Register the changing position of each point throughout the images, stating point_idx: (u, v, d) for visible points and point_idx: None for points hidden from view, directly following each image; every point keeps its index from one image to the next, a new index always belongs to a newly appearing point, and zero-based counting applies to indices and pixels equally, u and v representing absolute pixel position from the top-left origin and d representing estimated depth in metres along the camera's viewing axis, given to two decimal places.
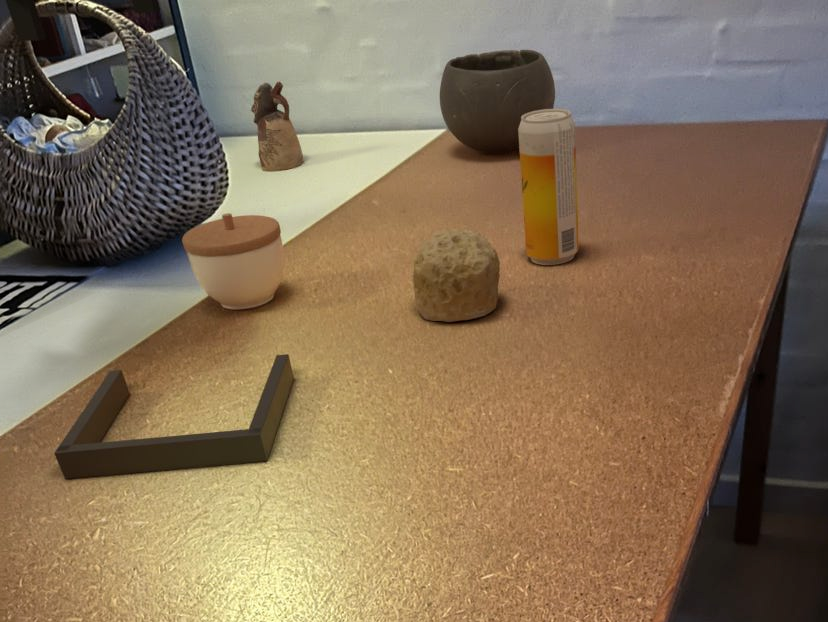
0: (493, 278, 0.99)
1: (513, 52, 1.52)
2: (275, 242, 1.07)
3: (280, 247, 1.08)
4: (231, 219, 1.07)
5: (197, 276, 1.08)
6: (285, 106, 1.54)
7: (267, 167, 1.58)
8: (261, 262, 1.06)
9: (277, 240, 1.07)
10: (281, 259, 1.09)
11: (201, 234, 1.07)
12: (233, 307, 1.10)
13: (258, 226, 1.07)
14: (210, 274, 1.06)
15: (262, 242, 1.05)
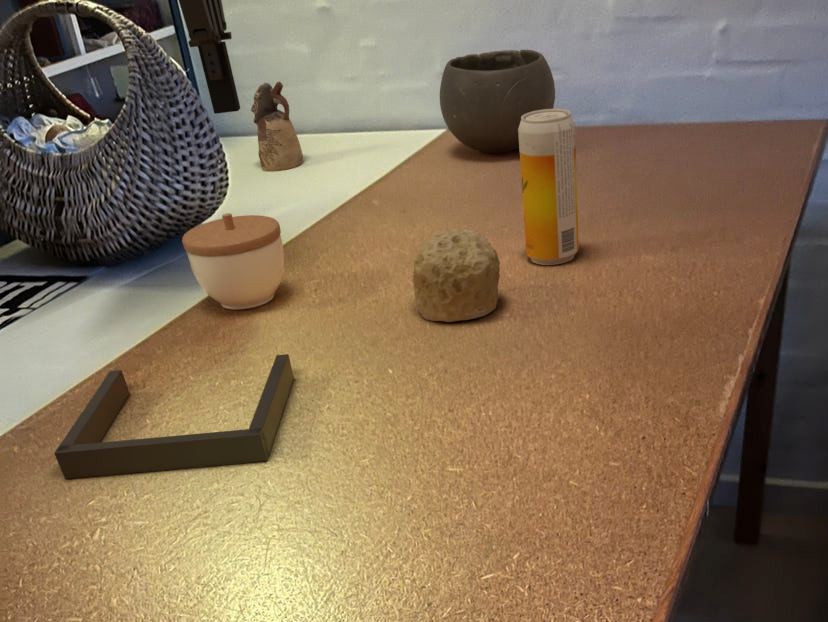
0: (493, 278, 0.99)
1: (513, 52, 1.52)
2: (275, 242, 1.07)
3: (280, 247, 1.08)
4: (231, 219, 1.07)
5: (197, 276, 1.08)
6: (285, 106, 1.54)
7: (267, 167, 1.58)
8: (261, 262, 1.06)
9: (277, 240, 1.07)
10: (281, 259, 1.09)
11: (201, 234, 1.07)
12: (233, 307, 1.10)
13: (258, 226, 1.07)
14: (210, 274, 1.06)
15: (262, 242, 1.05)
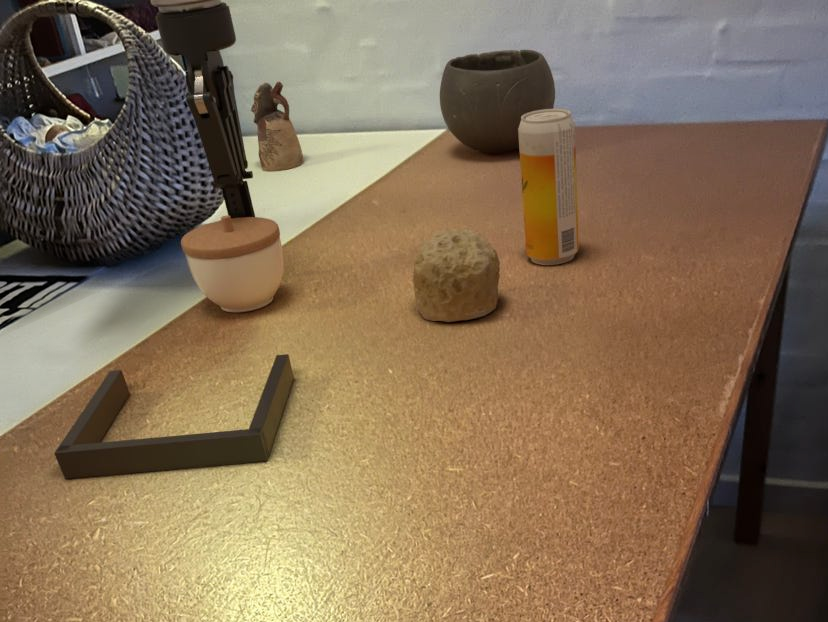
0: (493, 278, 0.99)
1: (513, 52, 1.52)
2: (274, 244, 1.06)
3: (279, 249, 1.07)
4: (230, 221, 1.06)
5: (196, 279, 1.07)
6: (285, 106, 1.54)
7: (267, 167, 1.58)
8: (261, 264, 1.05)
9: (276, 242, 1.06)
10: (280, 262, 1.08)
11: (200, 236, 1.06)
12: (232, 310, 1.09)
13: (257, 229, 1.06)
14: (209, 277, 1.05)
15: (261, 244, 1.04)
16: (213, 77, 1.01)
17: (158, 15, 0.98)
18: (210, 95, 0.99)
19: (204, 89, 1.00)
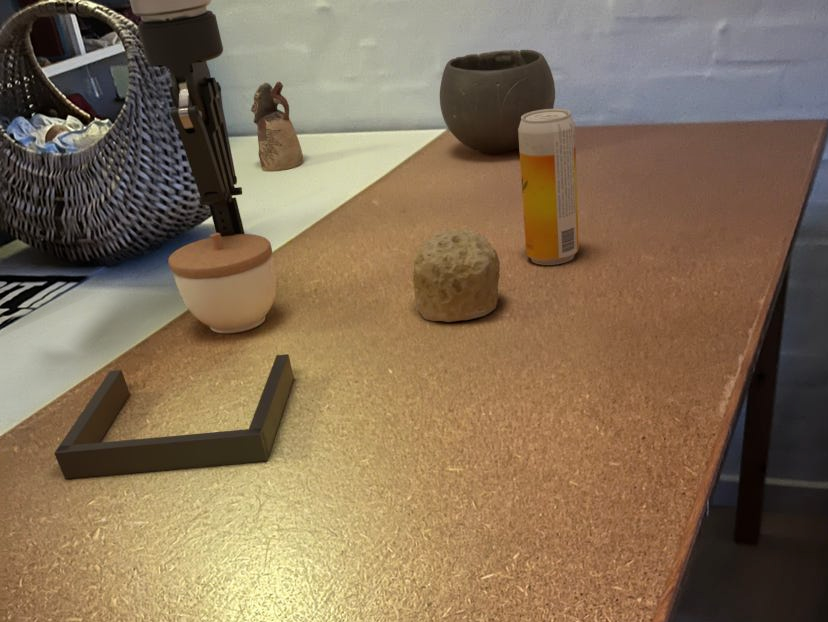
0: (493, 278, 0.99)
1: (513, 52, 1.52)
2: (266, 263, 1.01)
3: (271, 268, 1.03)
4: (220, 239, 1.01)
5: (184, 298, 1.02)
6: (285, 106, 1.54)
7: (267, 167, 1.58)
8: (251, 284, 1.01)
9: (268, 261, 1.02)
10: (272, 281, 1.03)
11: (188, 255, 1.01)
12: (222, 331, 1.05)
13: (248, 247, 1.02)
14: (197, 297, 1.01)
15: (251, 263, 1.00)
16: (199, 89, 0.96)
17: (140, 24, 0.93)
18: (195, 109, 0.94)
19: (189, 102, 0.95)
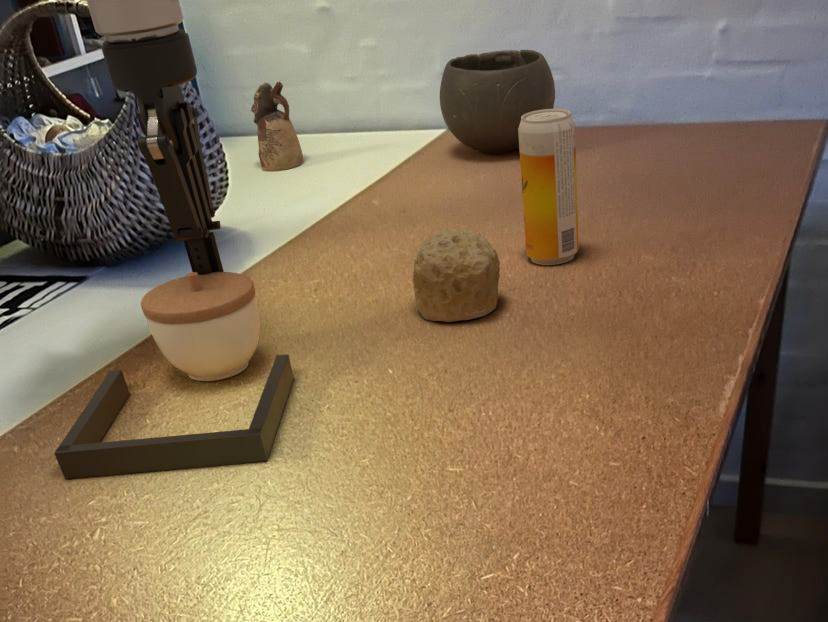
0: (493, 278, 0.99)
1: (513, 52, 1.52)
2: (249, 305, 0.92)
3: (255, 310, 0.94)
4: (197, 279, 0.92)
5: (159, 345, 0.93)
6: (285, 106, 1.54)
7: (267, 167, 1.58)
8: (234, 328, 0.91)
9: (251, 302, 0.93)
10: (256, 324, 0.94)
11: (163, 297, 0.92)
12: (202, 378, 0.95)
13: (229, 287, 0.92)
14: (174, 343, 0.91)
15: (234, 306, 0.90)
16: (170, 116, 0.87)
17: (104, 45, 0.84)
18: (166, 138, 0.85)
19: (159, 131, 0.85)
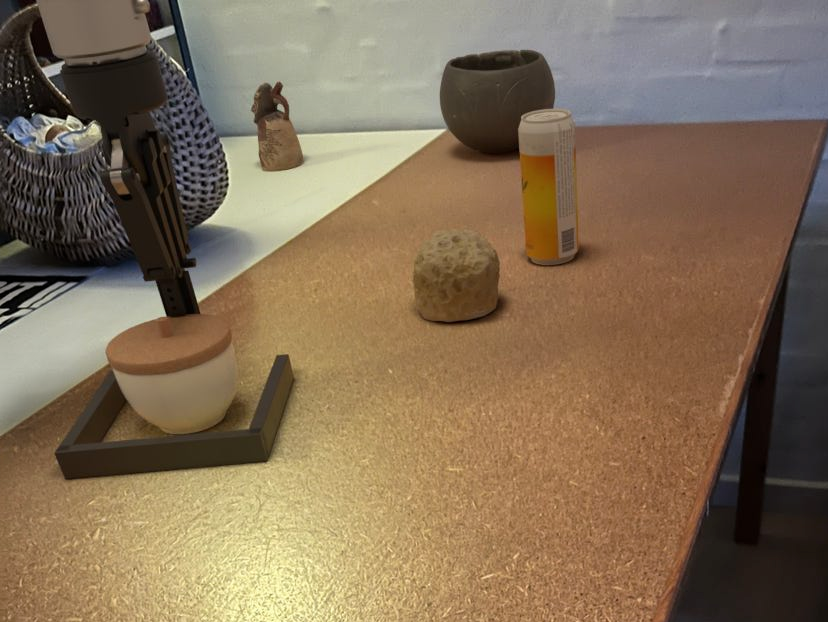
0: (493, 278, 0.99)
1: (513, 52, 1.52)
2: (224, 353, 0.84)
3: (231, 358, 0.85)
4: (168, 324, 0.83)
5: (125, 395, 0.85)
6: (285, 106, 1.54)
7: (267, 167, 1.58)
8: (206, 380, 0.83)
9: (227, 350, 0.84)
10: (232, 373, 0.85)
11: (129, 343, 0.84)
12: (173, 431, 0.87)
13: (202, 333, 0.84)
14: (140, 396, 0.83)
15: (205, 356, 0.82)
16: (137, 147, 0.78)
17: (62, 68, 0.75)
18: (131, 172, 0.76)
19: (124, 163, 0.77)
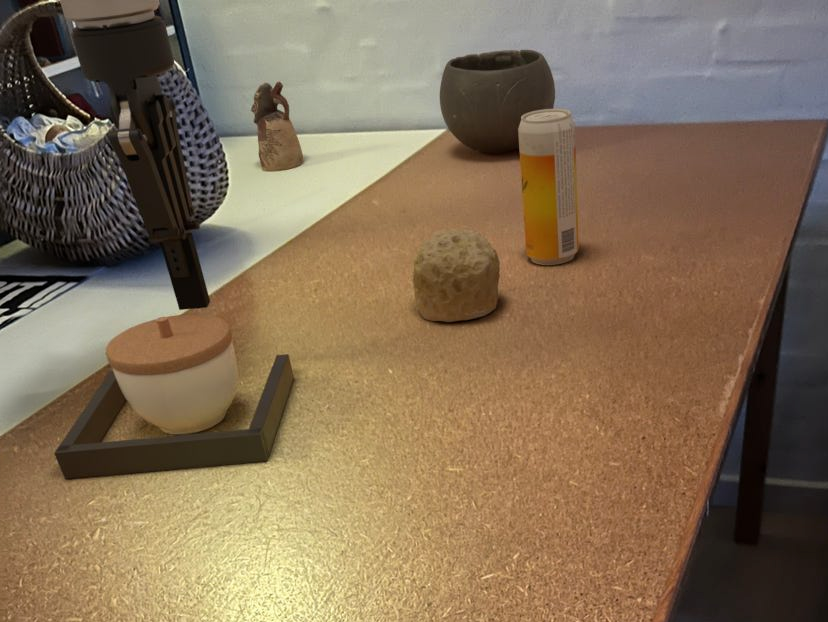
0: (493, 278, 0.99)
1: (513, 52, 1.52)
2: (224, 353, 0.84)
3: (231, 358, 0.85)
4: (168, 324, 0.83)
5: (125, 396, 0.84)
6: (285, 106, 1.54)
7: (267, 167, 1.58)
8: (206, 380, 0.83)
9: (227, 350, 0.84)
10: (232, 373, 0.85)
11: (129, 343, 0.84)
12: (173, 432, 0.87)
13: (202, 333, 0.84)
14: (140, 396, 0.83)
15: (206, 356, 0.82)
16: (145, 109, 0.81)
17: (73, 31, 0.78)
18: (138, 133, 0.79)
19: (132, 125, 0.80)
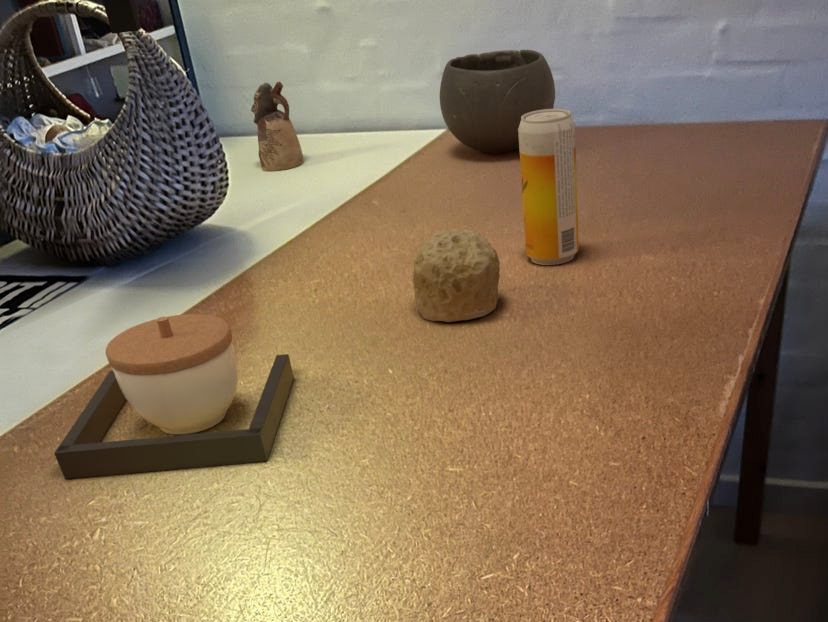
0: (493, 278, 0.99)
1: (513, 52, 1.52)
2: (224, 353, 0.84)
3: (231, 358, 0.85)
4: (168, 324, 0.83)
5: (125, 396, 0.84)
6: (285, 106, 1.54)
7: (267, 167, 1.58)
8: (206, 380, 0.83)
9: (227, 350, 0.84)
10: (232, 373, 0.85)
11: (130, 343, 0.84)
12: (173, 432, 0.87)
13: (202, 333, 0.84)
14: (140, 396, 0.83)
15: (206, 356, 0.82)
16: None
17: None
18: None
19: None
